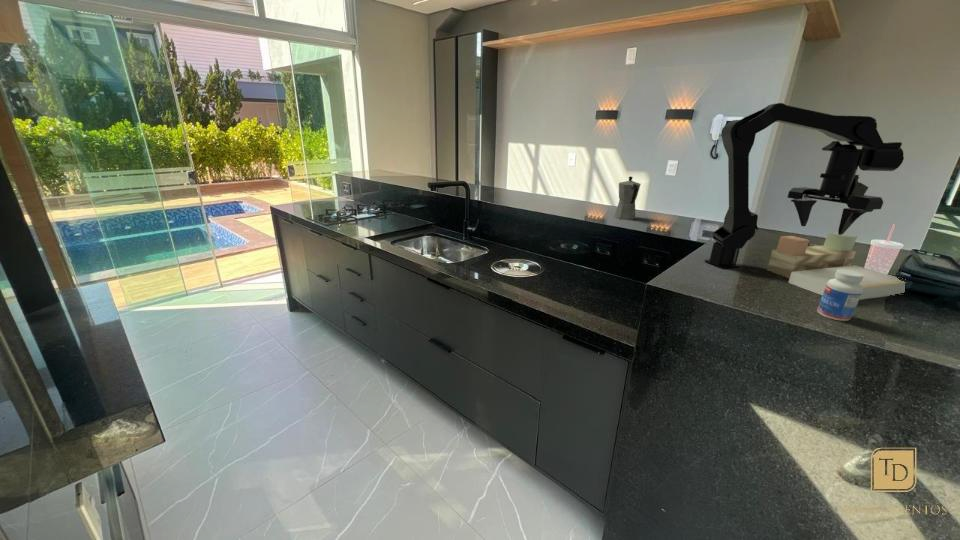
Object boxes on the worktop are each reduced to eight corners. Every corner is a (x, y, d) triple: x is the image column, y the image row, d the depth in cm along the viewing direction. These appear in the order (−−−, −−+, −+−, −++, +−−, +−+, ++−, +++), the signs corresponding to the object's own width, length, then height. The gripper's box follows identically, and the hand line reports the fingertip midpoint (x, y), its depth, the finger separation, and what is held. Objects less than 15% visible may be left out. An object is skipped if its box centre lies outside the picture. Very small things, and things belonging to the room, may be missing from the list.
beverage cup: (897, 278, 99) (919, 227, 94) (870, 277, 100) (890, 226, 95) (878, 270, 105) (898, 222, 100) (853, 269, 106) (871, 220, 101)
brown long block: (789, 278, 99) (796, 257, 97) (766, 270, 104) (772, 249, 102) (848, 272, 104) (856, 251, 101) (822, 264, 109) (829, 244, 107)
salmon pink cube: (792, 255, 97) (797, 241, 96) (776, 250, 101) (780, 236, 100) (804, 254, 98) (809, 240, 97) (787, 249, 102) (791, 235, 101)
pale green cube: (841, 251, 101) (846, 237, 100) (823, 246, 106) (827, 233, 104) (851, 250, 102) (857, 236, 101) (833, 245, 106) (838, 232, 105)
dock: (840, 302, 85) (845, 289, 84) (788, 282, 96) (791, 271, 95) (908, 293, 90) (913, 281, 89) (851, 275, 101) (855, 264, 100)
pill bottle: (809, 310, 81) (824, 267, 78) (832, 309, 81) (848, 267, 78) (834, 322, 76) (851, 277, 72) (858, 321, 76) (876, 277, 73)
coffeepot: (609, 214, 174) (615, 174, 167) (630, 214, 173) (636, 175, 167) (620, 221, 159) (626, 178, 153) (642, 222, 159) (649, 179, 153)
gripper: (911, 173, 88) (885, 237, 93) (824, 166, 105) (807, 221, 110) (876, 174, 85) (852, 240, 91) (794, 167, 102) (778, 222, 108)
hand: (821, 230), depth 100 cm, fingers open, 9 cm apart
